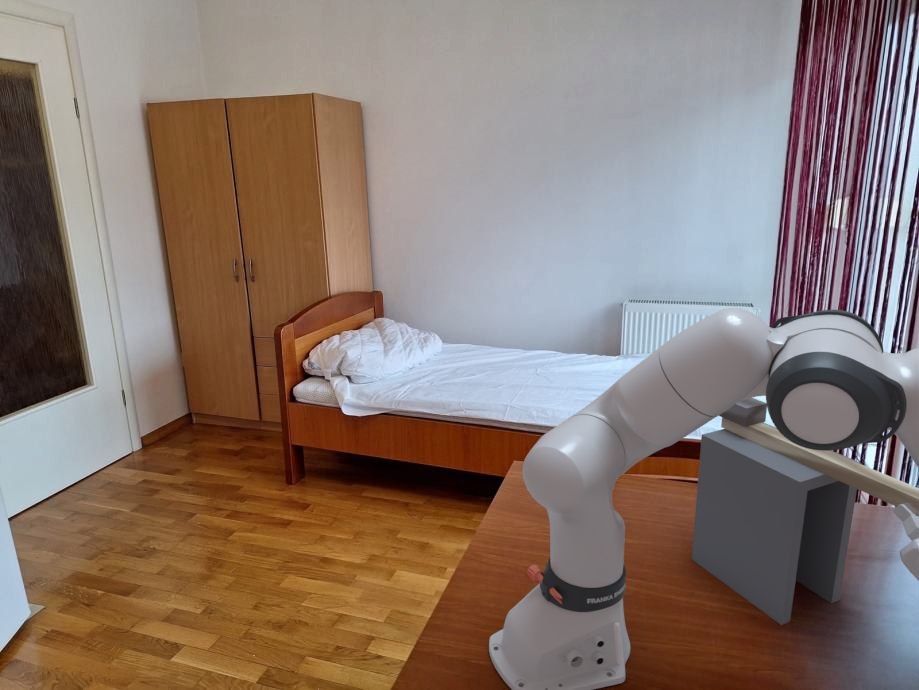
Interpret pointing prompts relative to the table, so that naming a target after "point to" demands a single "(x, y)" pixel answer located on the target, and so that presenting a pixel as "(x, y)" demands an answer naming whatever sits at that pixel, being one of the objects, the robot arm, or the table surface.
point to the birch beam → (816, 455)
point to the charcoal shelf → (769, 523)
